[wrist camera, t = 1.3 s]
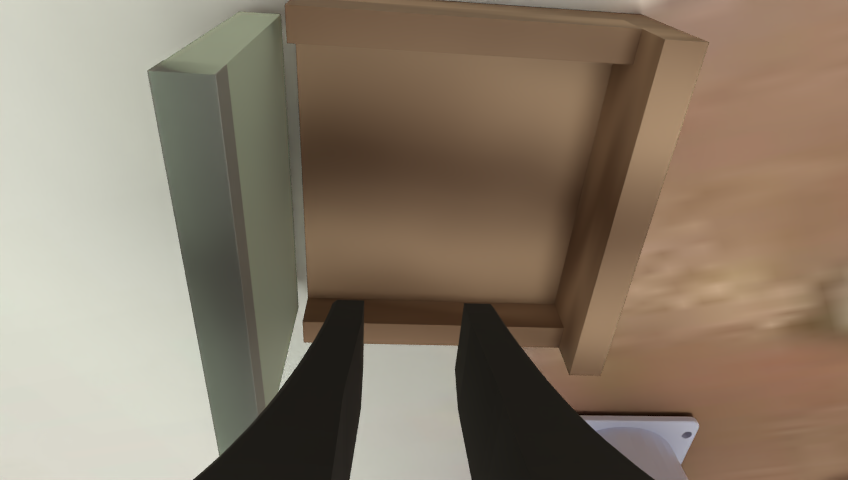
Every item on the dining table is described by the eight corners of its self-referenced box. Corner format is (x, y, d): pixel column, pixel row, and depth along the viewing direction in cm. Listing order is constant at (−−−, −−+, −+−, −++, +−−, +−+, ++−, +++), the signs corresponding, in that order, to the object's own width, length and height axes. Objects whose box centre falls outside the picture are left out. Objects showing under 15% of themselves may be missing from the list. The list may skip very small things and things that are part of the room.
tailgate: (299, 307, 22) (263, 456, 16) (267, 306, 22) (219, 456, 16) (281, 14, 16) (215, 74, 10) (239, 11, 16) (147, 71, 10)
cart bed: (567, 302, 24) (600, 375, 20) (313, 295, 23) (297, 370, 20) (642, 14, 18) (709, 42, 14) (300, -10, 17) (274, 13, 13)
